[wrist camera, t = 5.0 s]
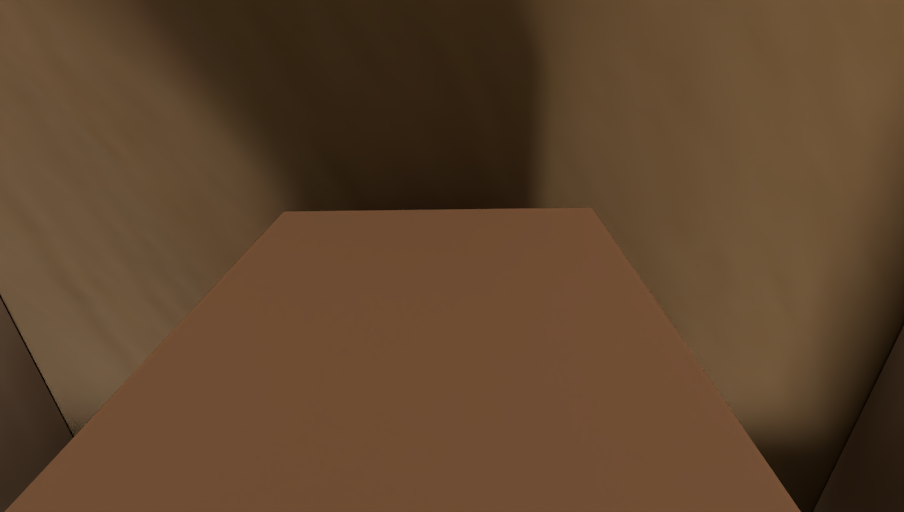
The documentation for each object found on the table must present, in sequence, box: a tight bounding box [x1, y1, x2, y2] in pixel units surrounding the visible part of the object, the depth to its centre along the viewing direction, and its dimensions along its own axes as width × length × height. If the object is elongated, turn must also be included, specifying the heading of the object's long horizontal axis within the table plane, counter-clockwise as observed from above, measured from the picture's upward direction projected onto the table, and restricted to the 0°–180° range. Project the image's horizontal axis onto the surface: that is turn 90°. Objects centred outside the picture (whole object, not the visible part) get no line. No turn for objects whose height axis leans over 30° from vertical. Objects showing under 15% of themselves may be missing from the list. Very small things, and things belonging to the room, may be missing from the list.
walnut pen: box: [0, 298, 904, 512], centre depth 9 cm, size 16×23×4 cm
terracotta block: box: [5, 208, 801, 512], centre depth 6 cm, size 5×5×6 cm
